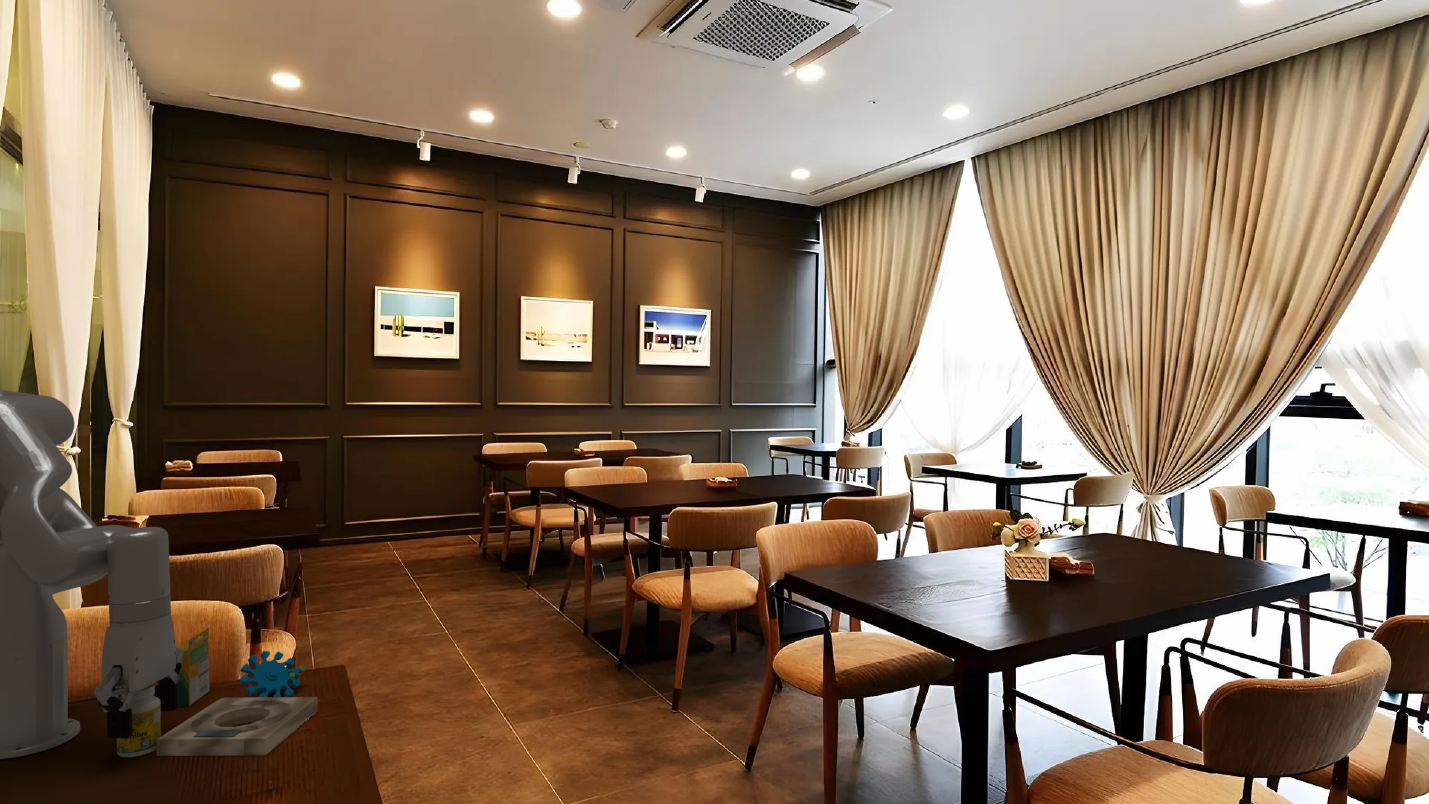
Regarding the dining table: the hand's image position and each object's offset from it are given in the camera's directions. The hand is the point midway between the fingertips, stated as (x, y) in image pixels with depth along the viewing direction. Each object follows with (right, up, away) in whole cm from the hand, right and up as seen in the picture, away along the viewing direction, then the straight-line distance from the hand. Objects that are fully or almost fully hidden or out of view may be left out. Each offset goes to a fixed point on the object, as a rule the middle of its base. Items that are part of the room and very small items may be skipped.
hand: (144, 723), depth 117 cm
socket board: (+11, -4, +6) cm, 13 cm away
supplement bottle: (-1, -4, 0) cm, 5 cm away
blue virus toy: (+7, -4, +22) cm, 23 cm away
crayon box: (-6, -4, +20) cm, 21 cm away
